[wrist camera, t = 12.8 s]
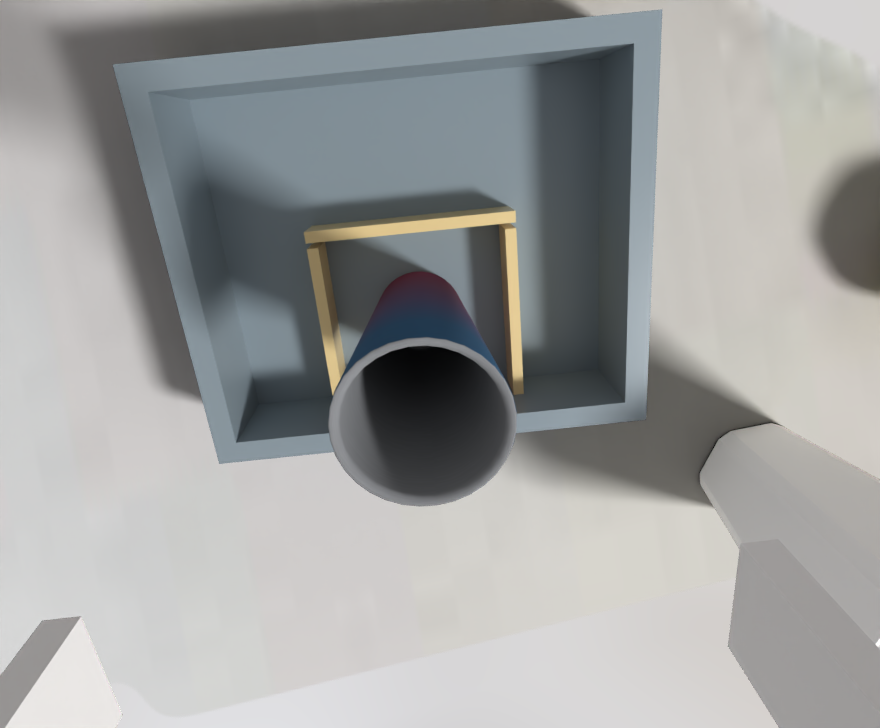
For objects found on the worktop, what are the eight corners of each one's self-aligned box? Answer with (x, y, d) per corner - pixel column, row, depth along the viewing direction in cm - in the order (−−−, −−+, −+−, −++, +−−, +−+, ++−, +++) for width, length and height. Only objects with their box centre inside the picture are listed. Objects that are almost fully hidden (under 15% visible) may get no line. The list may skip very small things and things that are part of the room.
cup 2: (647, 460, 40) (799, 668, 24) (773, 368, 38) (1031, 530, 22) (730, 554, 44) (912, 792, 28) (850, 475, 41) (1123, 683, 25)
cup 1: (352, 265, 34) (307, 353, 20) (468, 247, 33) (506, 322, 19) (374, 372, 36) (349, 519, 22) (482, 355, 36) (525, 492, 22)
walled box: (167, 78, 31) (112, 64, 25) (617, 33, 31) (662, 9, 25) (248, 416, 38) (219, 463, 32) (611, 378, 38) (646, 419, 32)
